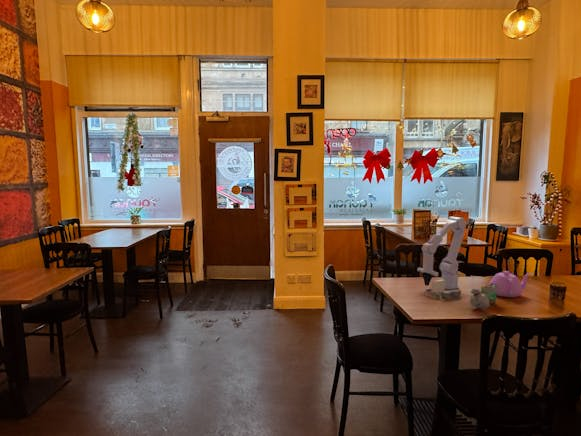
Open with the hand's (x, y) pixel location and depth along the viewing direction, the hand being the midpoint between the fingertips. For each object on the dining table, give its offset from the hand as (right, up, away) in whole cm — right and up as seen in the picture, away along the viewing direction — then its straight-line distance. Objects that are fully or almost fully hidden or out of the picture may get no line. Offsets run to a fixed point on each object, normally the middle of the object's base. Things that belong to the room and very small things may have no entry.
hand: (426, 285), depth 231 cm
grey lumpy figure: (+15, -7, -34) cm, 38 cm away
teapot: (+46, -5, -7) cm, 46 cm away
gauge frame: (+5, -4, -10) cm, 12 cm away
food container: (+26, -6, -24) cm, 36 cm away
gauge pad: (+2, -3, -7) cm, 8 cm away
